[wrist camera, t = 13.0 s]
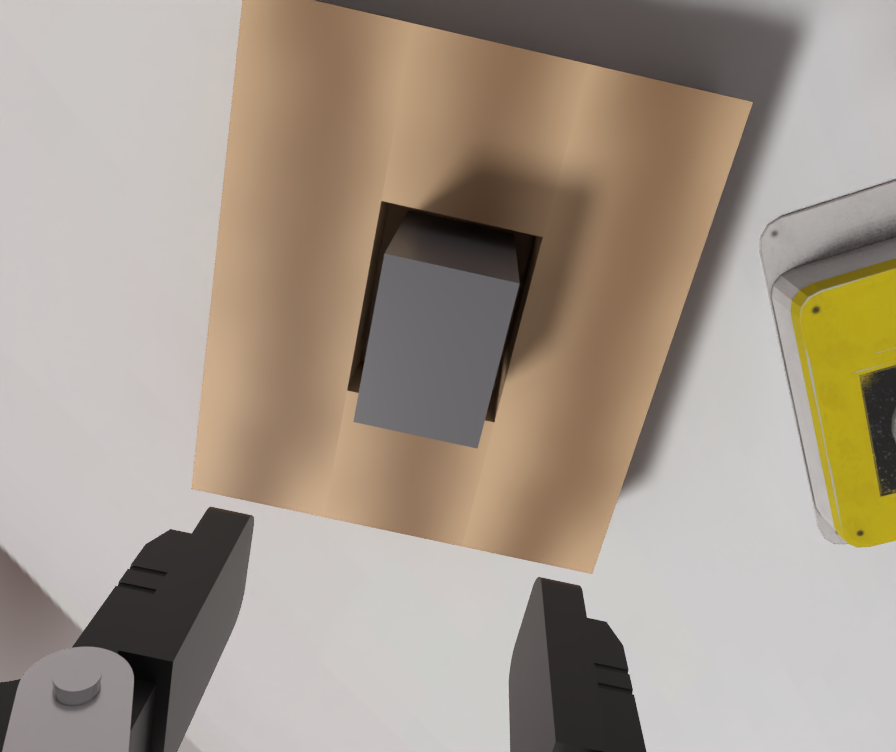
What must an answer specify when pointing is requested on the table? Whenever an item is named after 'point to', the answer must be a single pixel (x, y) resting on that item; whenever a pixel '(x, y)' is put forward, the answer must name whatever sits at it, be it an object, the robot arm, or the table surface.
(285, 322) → the socket block
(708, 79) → the table surface
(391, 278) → the plug
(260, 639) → the table surface
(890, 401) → the emergency button
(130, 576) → the robot arm
